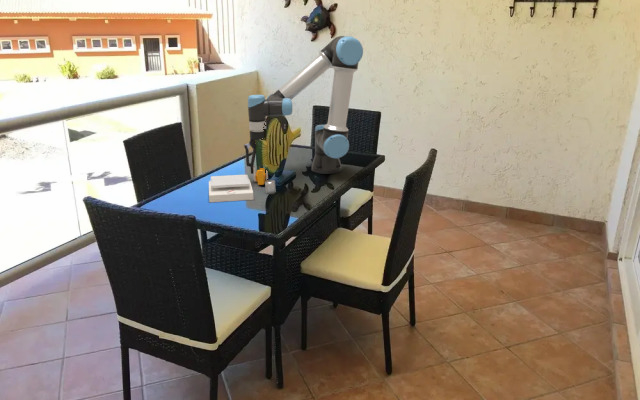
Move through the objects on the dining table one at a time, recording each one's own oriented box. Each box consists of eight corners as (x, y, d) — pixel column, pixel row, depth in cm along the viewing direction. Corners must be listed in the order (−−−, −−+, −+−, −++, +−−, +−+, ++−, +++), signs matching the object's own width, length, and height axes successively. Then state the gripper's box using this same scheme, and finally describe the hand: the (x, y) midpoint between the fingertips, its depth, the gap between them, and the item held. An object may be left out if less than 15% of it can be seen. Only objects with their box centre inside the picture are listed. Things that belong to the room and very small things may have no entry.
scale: (249, 185, 224) (249, 173, 223) (253, 199, 206) (253, 187, 204) (209, 187, 221) (208, 175, 219) (209, 202, 202) (208, 189, 201)
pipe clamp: (257, 176, 234) (256, 163, 232) (266, 176, 234) (265, 163, 232) (254, 184, 223) (253, 171, 220) (263, 184, 223) (262, 171, 220)
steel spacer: (274, 190, 217) (274, 179, 216) (276, 193, 213) (275, 182, 212) (264, 191, 217) (264, 180, 215) (265, 194, 213) (265, 183, 211)
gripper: (276, 127, 226) (279, 176, 234) (237, 129, 223) (240, 178, 231) (279, 130, 219) (281, 180, 227) (238, 133, 216) (241, 183, 224)
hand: (260, 179), depth 229 cm, fingers closed on pipe clamp, 5 cm apart
